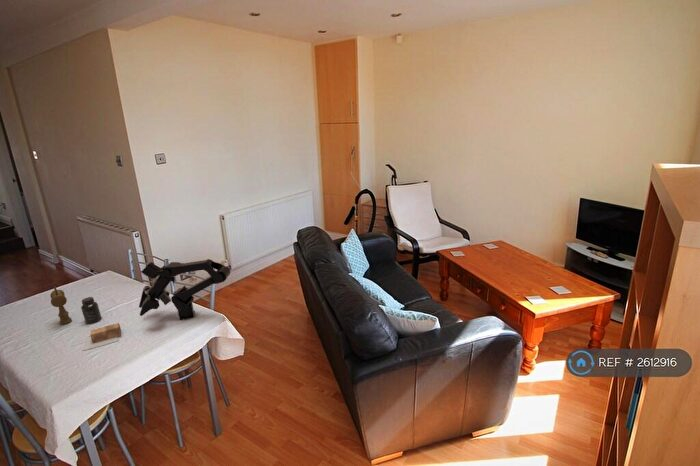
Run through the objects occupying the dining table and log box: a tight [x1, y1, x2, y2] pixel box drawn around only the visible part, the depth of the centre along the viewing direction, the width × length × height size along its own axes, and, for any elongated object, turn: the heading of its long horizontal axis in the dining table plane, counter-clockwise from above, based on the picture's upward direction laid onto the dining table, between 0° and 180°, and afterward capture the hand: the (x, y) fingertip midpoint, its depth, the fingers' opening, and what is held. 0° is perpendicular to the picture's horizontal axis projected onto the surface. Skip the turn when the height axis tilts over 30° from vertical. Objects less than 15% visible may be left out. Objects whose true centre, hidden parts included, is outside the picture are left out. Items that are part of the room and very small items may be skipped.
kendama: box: [50, 286, 73, 325], centre depth 179 cm, size 6×10×20 cm, turn 41°
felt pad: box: [82, 335, 119, 352], centre depth 167 cm, size 13×12×1 cm
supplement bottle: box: [80, 296, 102, 325], centre depth 181 cm, size 7×7×12 cm
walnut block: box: [89, 322, 122, 343], centre depth 167 cm, size 4×4×11 cm
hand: (140, 311), depth 176 cm, fingers open, 9 cm apart
